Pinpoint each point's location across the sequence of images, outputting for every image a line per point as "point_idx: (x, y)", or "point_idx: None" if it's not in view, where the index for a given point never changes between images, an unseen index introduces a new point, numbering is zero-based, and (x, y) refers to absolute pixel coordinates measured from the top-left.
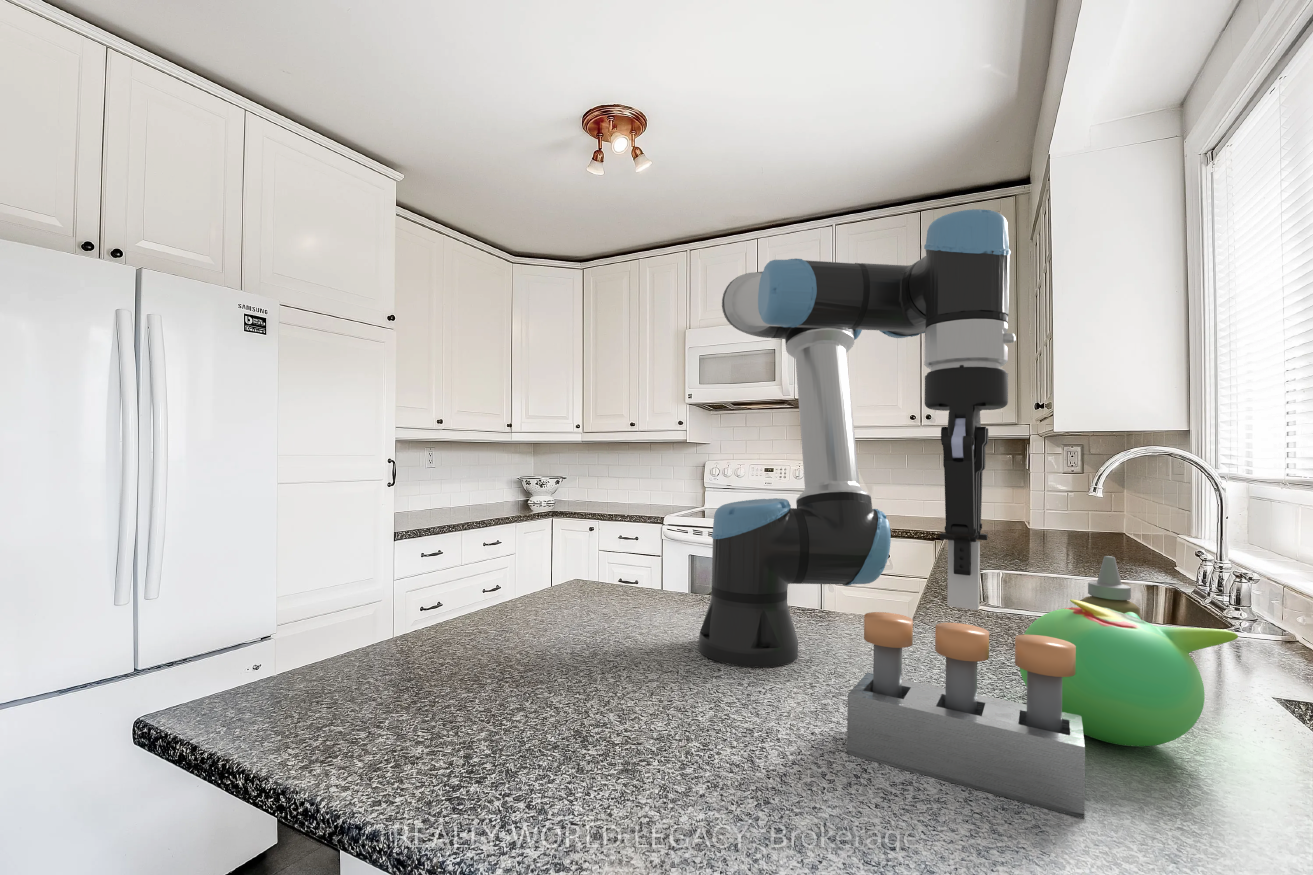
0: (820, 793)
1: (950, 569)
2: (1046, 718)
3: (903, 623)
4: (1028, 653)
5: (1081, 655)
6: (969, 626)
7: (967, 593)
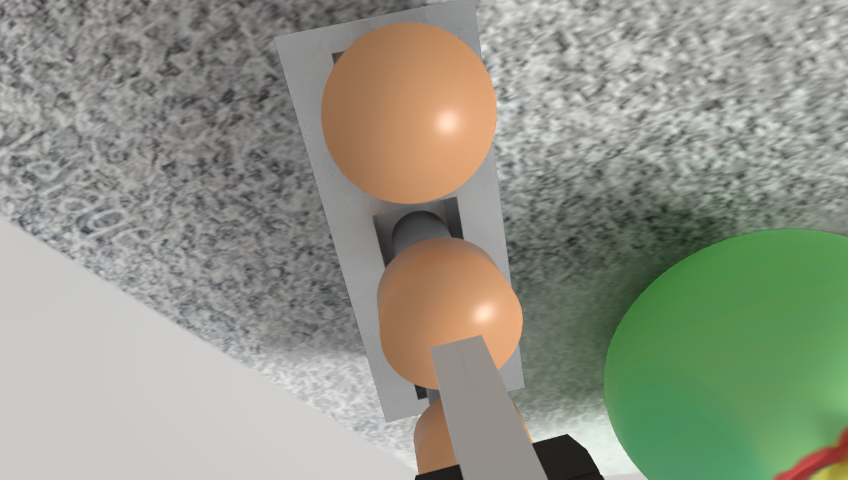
0: (113, 79)
1: (458, 459)
2: None
3: (373, 192)
4: (421, 452)
5: (680, 414)
6: (500, 332)
7: (450, 435)
